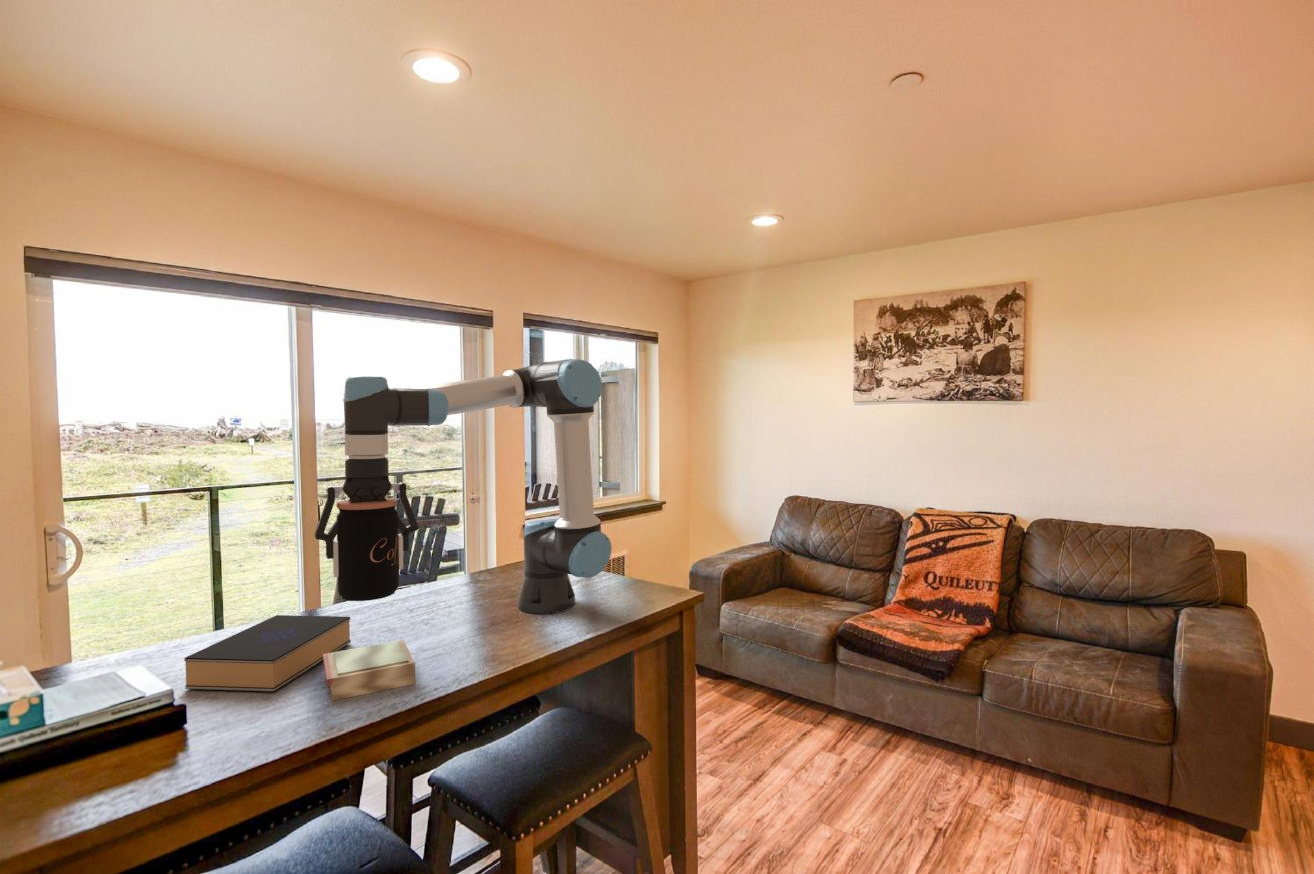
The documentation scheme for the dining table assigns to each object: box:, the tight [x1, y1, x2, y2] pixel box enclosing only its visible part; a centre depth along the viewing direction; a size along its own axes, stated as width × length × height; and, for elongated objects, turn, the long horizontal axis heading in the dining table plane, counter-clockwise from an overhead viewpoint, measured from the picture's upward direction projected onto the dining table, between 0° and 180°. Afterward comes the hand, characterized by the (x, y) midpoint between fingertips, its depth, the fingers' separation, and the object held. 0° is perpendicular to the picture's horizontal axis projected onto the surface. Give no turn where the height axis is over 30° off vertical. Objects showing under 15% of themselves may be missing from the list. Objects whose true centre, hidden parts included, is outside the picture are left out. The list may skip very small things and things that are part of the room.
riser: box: [322, 639, 416, 702], centre depth 120 cm, size 15×14×4 cm
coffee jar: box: [336, 497, 400, 602], centre depth 120 cm, size 11×11×18 cm
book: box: [184, 614, 352, 693], centre depth 127 cm, size 17×25×7 cm
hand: (368, 571), depth 120 cm, fingers closed on coffee jar, 11 cm apart
